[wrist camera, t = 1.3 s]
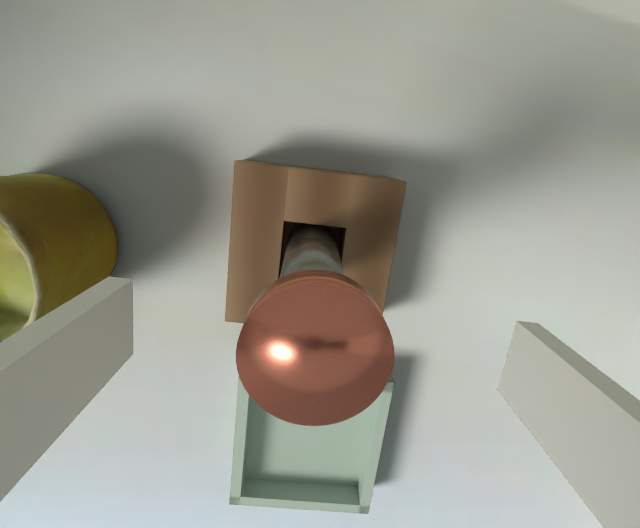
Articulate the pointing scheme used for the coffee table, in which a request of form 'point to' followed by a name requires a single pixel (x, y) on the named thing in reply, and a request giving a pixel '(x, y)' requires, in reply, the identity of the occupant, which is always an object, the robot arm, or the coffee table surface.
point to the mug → (49, 246)
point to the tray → (307, 458)
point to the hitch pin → (314, 338)
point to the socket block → (313, 208)
